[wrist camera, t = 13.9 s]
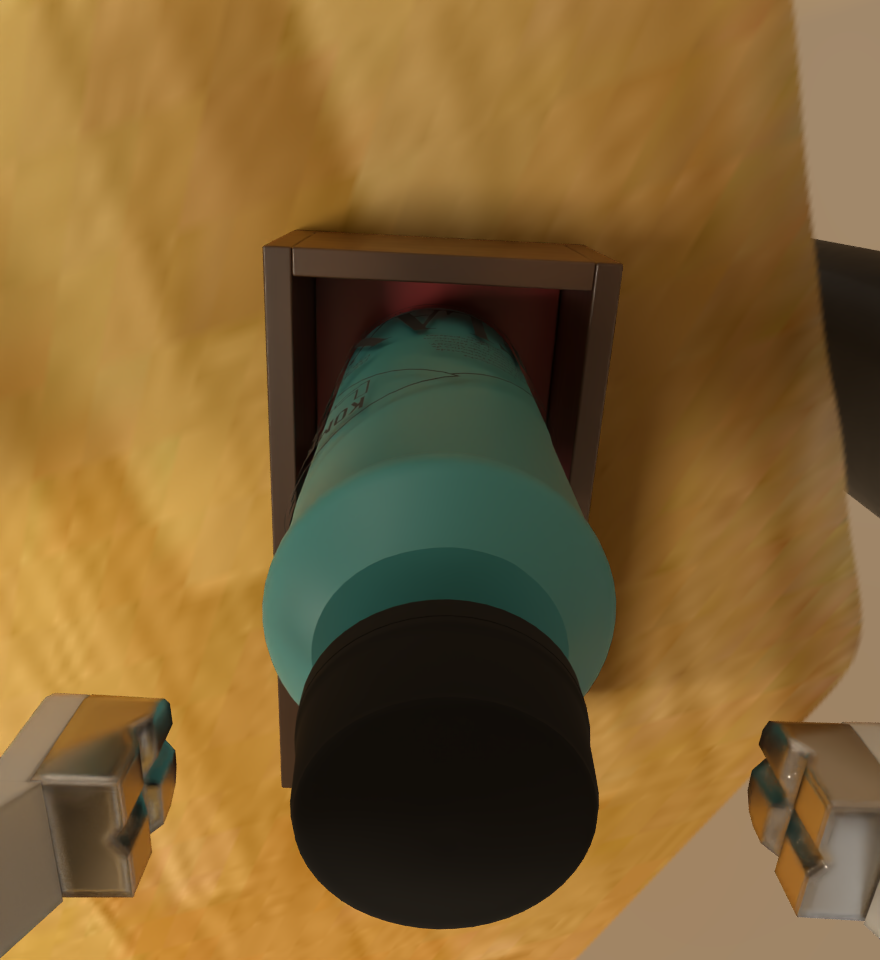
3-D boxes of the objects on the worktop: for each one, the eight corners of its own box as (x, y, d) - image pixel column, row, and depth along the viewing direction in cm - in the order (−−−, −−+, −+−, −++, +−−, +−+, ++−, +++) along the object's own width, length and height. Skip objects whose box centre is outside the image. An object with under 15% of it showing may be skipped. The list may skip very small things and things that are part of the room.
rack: (585, 245, 27) (624, 263, 21) (531, 698, 34) (551, 794, 29) (293, 229, 26) (262, 245, 21) (303, 692, 34) (281, 788, 28)
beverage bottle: (543, 316, 27) (815, 656, 8) (494, 487, 29) (619, 1044, 11) (360, 272, 26) (208, 535, 8) (325, 450, 28) (145, 980, 10)
